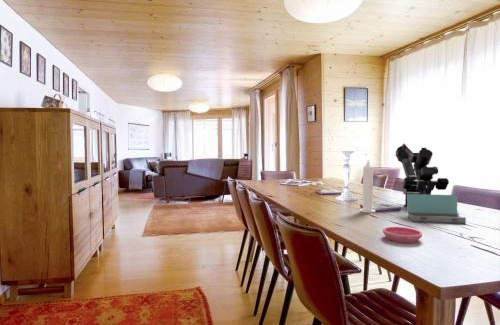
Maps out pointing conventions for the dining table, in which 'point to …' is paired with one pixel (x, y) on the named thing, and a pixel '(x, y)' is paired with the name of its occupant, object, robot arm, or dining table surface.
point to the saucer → (402, 234)
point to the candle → (367, 189)
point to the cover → (432, 203)
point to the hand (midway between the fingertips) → (429, 198)
